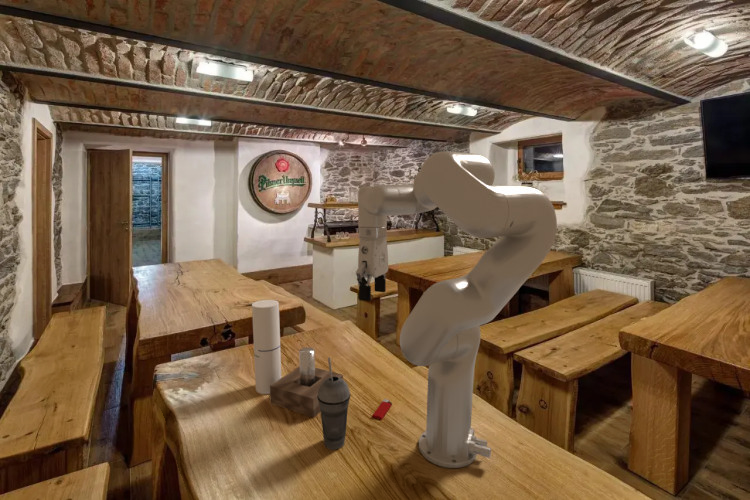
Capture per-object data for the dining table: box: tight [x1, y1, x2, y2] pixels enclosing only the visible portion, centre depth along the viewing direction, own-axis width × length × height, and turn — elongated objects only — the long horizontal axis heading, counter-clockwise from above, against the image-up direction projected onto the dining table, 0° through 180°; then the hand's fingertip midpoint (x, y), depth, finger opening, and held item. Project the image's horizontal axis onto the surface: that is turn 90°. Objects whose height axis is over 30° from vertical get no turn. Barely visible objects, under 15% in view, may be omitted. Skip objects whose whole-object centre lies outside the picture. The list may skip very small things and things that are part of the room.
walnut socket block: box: [269, 365, 344, 418], centre depth 103 cm, size 14×14×5 cm
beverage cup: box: [317, 357, 351, 451], centre depth 84 cm, size 7×7×20 cm
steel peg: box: [298, 346, 316, 387], centre depth 103 cm, size 4×4×12 cm
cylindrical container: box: [251, 299, 282, 395], centre depth 107 cm, size 7×7×25 cm
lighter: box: [371, 398, 393, 421], centre depth 98 cm, size 3×1×8 cm
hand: (372, 295), depth 103 cm, fingers open, 9 cm apart
